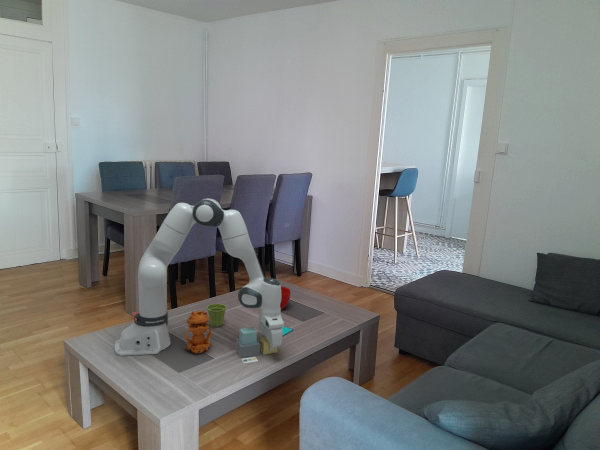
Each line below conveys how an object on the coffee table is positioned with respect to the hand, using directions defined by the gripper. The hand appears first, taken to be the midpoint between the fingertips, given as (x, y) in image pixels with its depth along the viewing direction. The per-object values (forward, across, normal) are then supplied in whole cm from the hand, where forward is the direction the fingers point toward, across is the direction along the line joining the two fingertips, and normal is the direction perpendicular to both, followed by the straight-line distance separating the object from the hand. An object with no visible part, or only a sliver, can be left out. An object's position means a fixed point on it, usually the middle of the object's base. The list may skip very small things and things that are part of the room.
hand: (268, 347), depth 188 cm
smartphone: (+2, -15, +10) cm, 18 cm away
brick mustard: (+2, 0, 0) cm, 2 cm away
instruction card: (+2, +6, -10) cm, 12 cm away
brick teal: (-3, -1, -9) cm, 10 cm away
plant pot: (+2, -33, -15) cm, 36 cm away
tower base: (+2, -1, -9) cm, 9 cm away
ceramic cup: (+2, -44, +19) cm, 48 cm away
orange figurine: (+2, -9, -28) cm, 29 cm away
